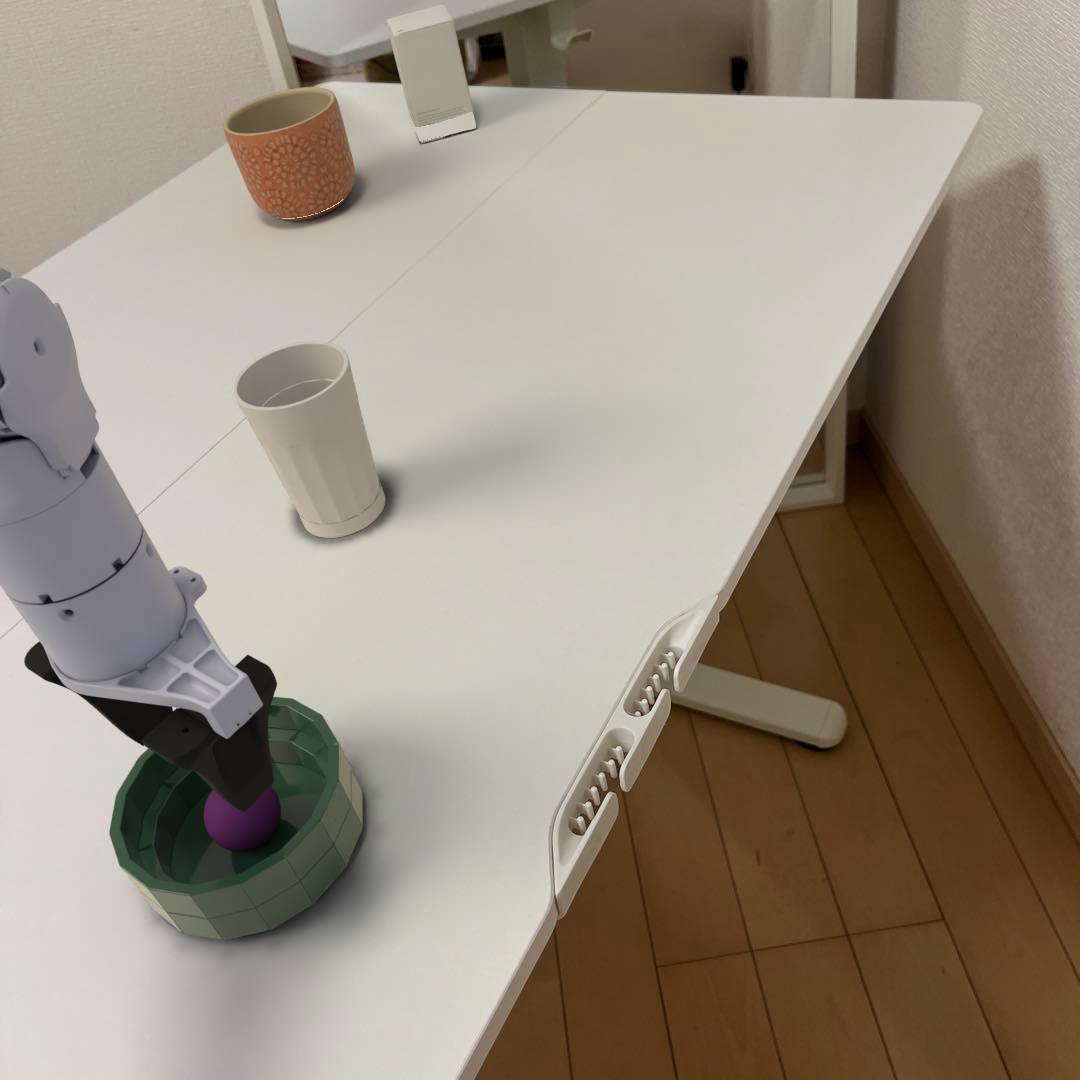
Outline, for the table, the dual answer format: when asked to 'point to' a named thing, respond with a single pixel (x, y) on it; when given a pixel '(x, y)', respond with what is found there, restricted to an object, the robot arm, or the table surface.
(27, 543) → the robot arm
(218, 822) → the ball
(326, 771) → the bowl
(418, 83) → the white packaging box
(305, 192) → the planter
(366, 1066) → the table surface
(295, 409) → the cup
